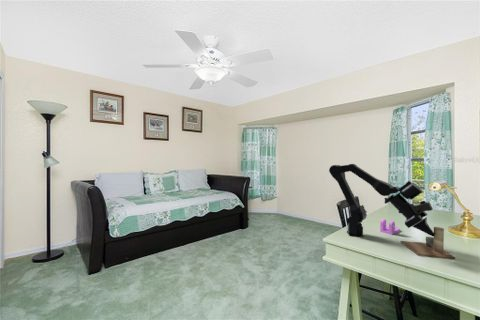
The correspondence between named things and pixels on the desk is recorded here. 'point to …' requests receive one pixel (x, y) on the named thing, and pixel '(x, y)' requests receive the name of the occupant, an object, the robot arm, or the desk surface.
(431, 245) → the crank handle
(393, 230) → the bracket
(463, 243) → the desk surface
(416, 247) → the brown board
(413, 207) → the robot arm
